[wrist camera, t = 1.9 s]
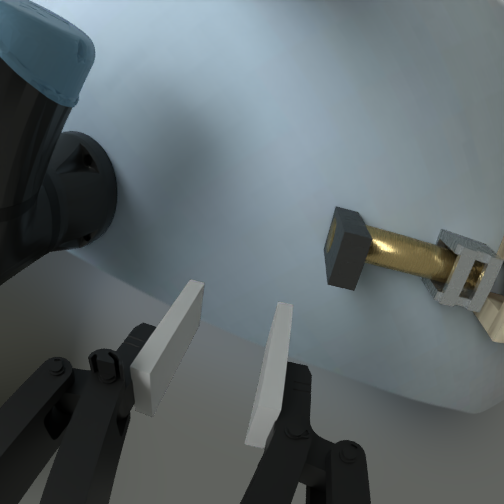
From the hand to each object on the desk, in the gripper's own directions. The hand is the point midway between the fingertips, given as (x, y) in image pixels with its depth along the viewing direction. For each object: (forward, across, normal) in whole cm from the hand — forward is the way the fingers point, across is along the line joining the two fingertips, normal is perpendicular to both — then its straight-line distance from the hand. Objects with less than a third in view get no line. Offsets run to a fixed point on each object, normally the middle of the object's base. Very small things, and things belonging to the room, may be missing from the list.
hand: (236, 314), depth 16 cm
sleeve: (+19, +22, 0) cm, 29 cm away
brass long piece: (+19, +15, 0) cm, 24 cm away
